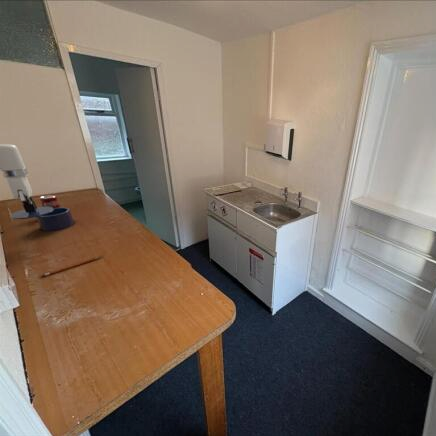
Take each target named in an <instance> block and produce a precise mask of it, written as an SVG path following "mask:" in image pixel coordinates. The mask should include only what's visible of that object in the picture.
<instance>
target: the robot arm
mask: <svg viewBox="0 0 436 436" xmlns="http://www.w3.org/2000/svg"><path fill="white" fill-rule="evenodd" d="M0 172H1V174H2V176H3V178H4V179H7V183H8V186H9V189H10V191H11V194H12V197H13V198H14V200H18V199H20V202H21V205H22V207H23V210H25V211H26V212H27V213H29V212H35V211H36V210H35V208H36V209H37V207H38V206H37V205H36V202H35V201H34V198H33V196H32V195H33V194H34V193H33V189H32V186H31V185H30V182H29V179H28V176H29V173H28V170H27V168H26V164H25V163H24V160H23V158H22V155H21V153H20V151H19V149H18V147H17V145H15V144H11V143H0ZM31 200H32V201H33V203H34V205H35V207H34V205H33V203H31Z"/></svg>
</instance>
